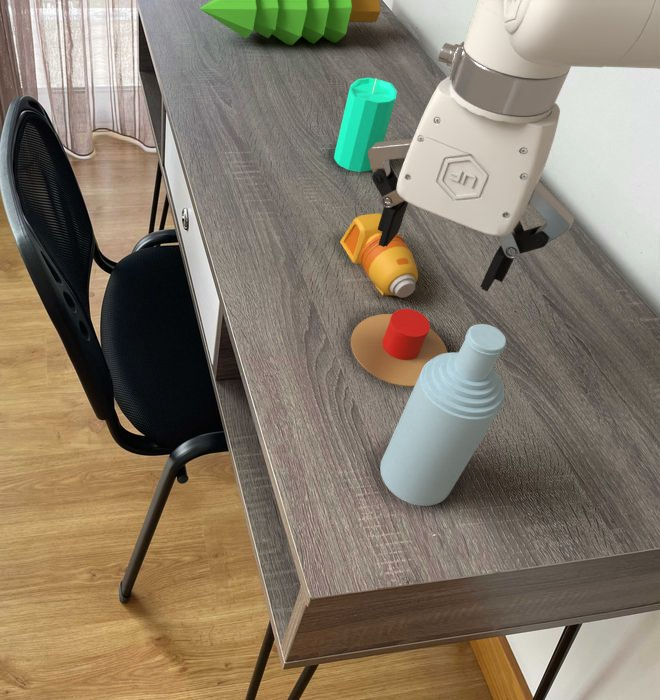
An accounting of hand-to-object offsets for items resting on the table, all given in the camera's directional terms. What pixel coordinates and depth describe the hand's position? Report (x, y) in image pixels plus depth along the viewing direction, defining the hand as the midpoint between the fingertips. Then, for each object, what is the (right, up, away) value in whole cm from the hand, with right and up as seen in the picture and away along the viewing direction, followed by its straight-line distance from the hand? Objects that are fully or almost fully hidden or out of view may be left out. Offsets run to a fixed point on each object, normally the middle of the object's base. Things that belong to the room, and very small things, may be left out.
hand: (437, 259), depth 66 cm
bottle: (-2, -20, 0) cm, 20 cm away
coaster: (-1, -8, +10) cm, 13 cm away
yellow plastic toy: (-1, +1, +18) cm, 18 cm away
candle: (0, +17, +33) cm, 38 cm away
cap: (-1, -8, +10) cm, 12 cm away
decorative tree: (-7, +44, +57) cm, 72 cm away
